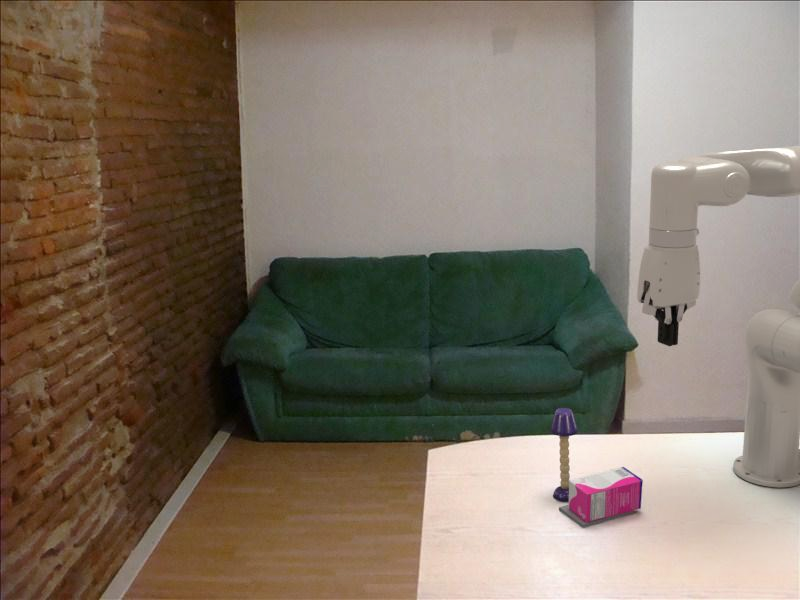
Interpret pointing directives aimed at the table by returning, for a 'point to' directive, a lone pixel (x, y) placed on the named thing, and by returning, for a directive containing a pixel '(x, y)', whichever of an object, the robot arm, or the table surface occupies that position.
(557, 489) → the toy lamp
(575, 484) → the supplement box
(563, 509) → the mat
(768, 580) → the table surface
